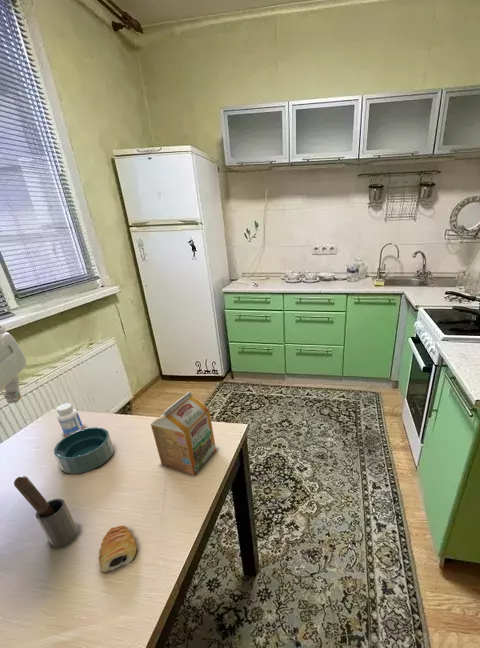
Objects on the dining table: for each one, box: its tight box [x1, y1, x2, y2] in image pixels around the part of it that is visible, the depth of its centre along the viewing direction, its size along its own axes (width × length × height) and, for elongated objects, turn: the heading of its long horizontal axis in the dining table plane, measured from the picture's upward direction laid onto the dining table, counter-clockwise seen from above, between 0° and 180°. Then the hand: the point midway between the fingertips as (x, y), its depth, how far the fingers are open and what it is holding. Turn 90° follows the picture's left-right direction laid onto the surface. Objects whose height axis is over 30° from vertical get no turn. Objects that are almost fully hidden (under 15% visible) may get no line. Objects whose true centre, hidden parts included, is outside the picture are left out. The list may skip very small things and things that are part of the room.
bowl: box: [53, 426, 115, 475], centre depth 91 cm, size 13×13×6 cm
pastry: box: [98, 525, 138, 573], centre depth 66 cm, size 9×7×4 cm
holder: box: [35, 498, 79, 548], centre depth 68 cm, size 5×5×9 cm
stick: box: [13, 475, 56, 517], centre depth 65 cm, size 2×2×18 cm
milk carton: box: [150, 391, 217, 476], centre depth 87 cm, size 11×10×19 cm
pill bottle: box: [55, 402, 85, 437], centre depth 101 cm, size 6×5×10 cm
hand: (2, 415), depth 56 cm, fingers open, 8 cm apart
